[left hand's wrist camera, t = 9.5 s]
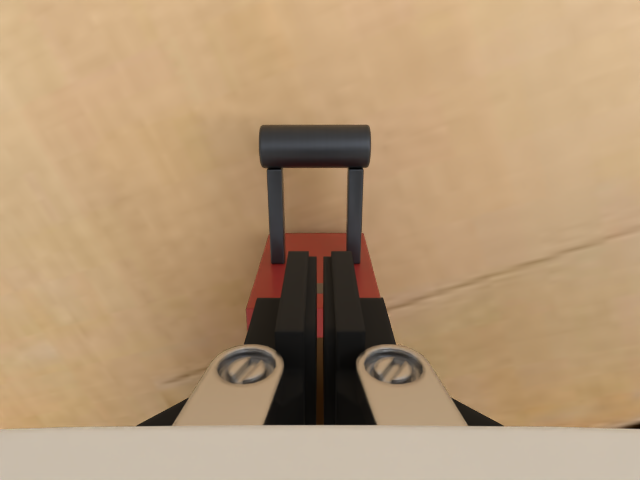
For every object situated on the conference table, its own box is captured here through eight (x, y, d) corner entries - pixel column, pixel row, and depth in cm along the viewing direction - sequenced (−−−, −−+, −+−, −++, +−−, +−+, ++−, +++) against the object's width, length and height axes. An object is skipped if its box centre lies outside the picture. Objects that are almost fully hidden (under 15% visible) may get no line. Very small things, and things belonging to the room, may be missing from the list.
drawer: (263, 116, 21) (234, 141, 14) (367, 115, 21) (393, 140, 14) (278, 454, 28) (264, 588, 21) (356, 453, 28) (368, 587, 21)
